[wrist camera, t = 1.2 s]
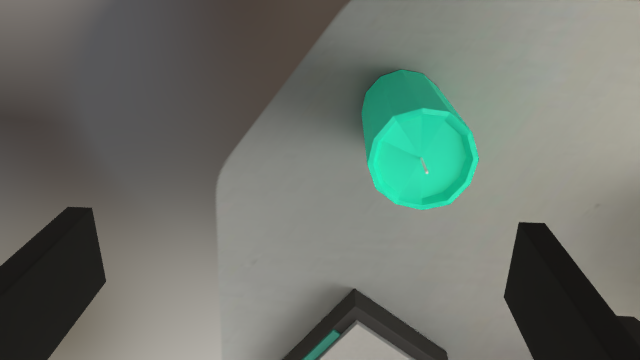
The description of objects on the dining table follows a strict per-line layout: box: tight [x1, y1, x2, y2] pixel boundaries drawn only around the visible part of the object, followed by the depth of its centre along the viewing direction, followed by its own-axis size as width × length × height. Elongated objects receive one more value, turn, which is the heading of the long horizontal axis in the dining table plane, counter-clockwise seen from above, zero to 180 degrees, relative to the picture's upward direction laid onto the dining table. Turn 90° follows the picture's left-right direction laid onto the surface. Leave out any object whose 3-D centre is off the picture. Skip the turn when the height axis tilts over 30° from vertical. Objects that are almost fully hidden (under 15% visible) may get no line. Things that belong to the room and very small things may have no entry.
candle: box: [362, 69, 479, 210], centre depth 31 cm, size 6×6×12 cm
